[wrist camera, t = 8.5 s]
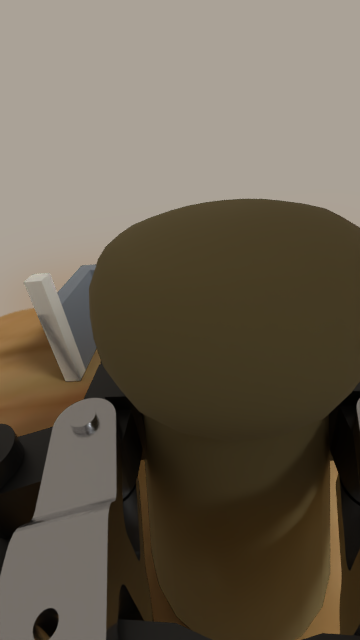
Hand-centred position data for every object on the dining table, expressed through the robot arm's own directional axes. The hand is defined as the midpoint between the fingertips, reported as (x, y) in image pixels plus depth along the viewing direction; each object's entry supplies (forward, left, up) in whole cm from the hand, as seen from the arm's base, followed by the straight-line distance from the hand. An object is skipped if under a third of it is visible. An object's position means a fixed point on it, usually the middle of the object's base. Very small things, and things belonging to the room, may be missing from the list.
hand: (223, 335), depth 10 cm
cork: (0, +3, -7) cm, 7 cm away
